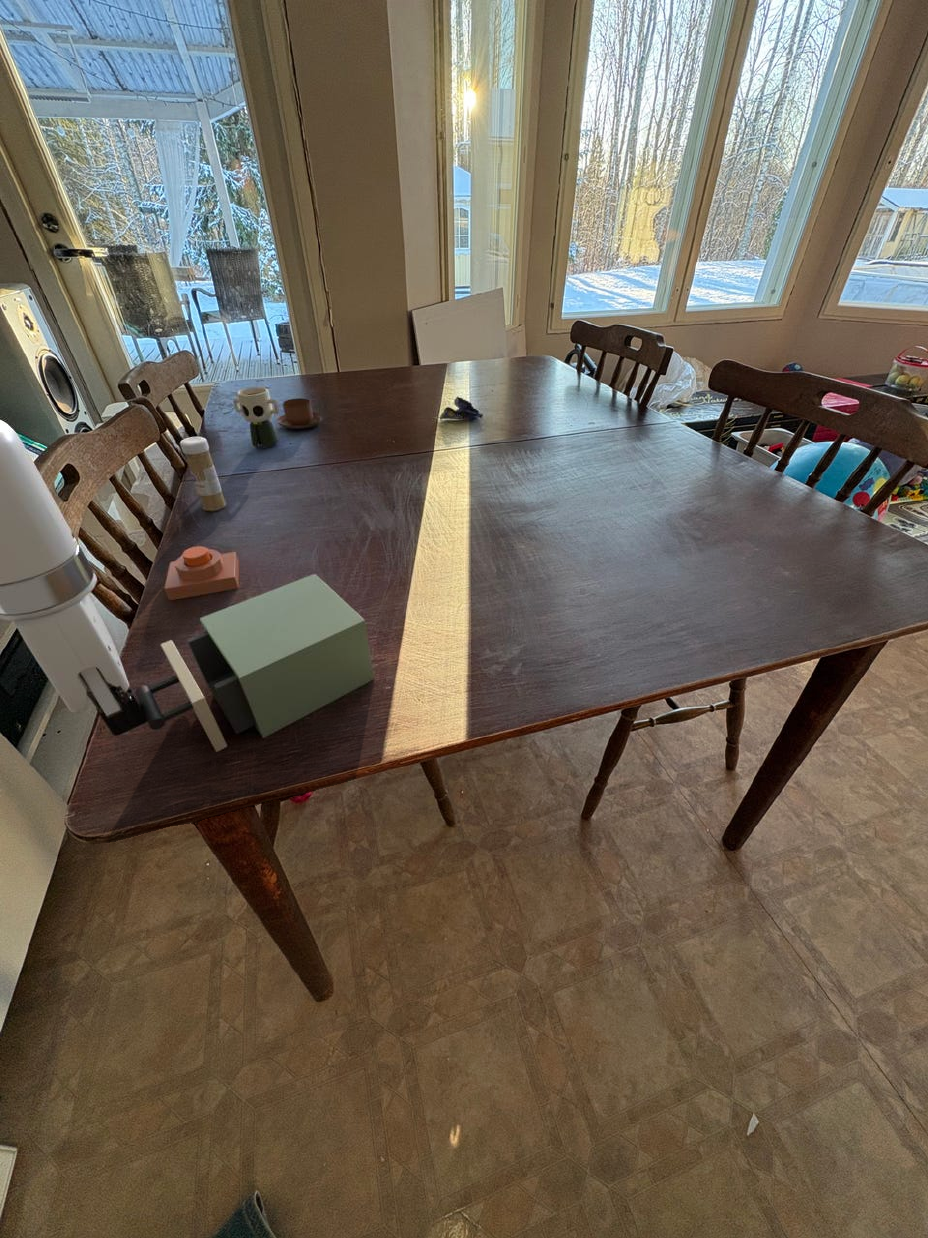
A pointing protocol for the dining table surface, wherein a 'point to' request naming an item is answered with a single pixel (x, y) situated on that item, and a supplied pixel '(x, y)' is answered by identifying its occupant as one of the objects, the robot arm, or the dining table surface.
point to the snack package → (460, 410)
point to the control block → (202, 576)
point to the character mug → (258, 414)
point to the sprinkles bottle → (203, 473)
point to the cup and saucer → (298, 414)
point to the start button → (196, 556)
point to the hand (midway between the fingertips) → (130, 724)
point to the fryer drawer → (217, 680)
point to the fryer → (292, 650)
